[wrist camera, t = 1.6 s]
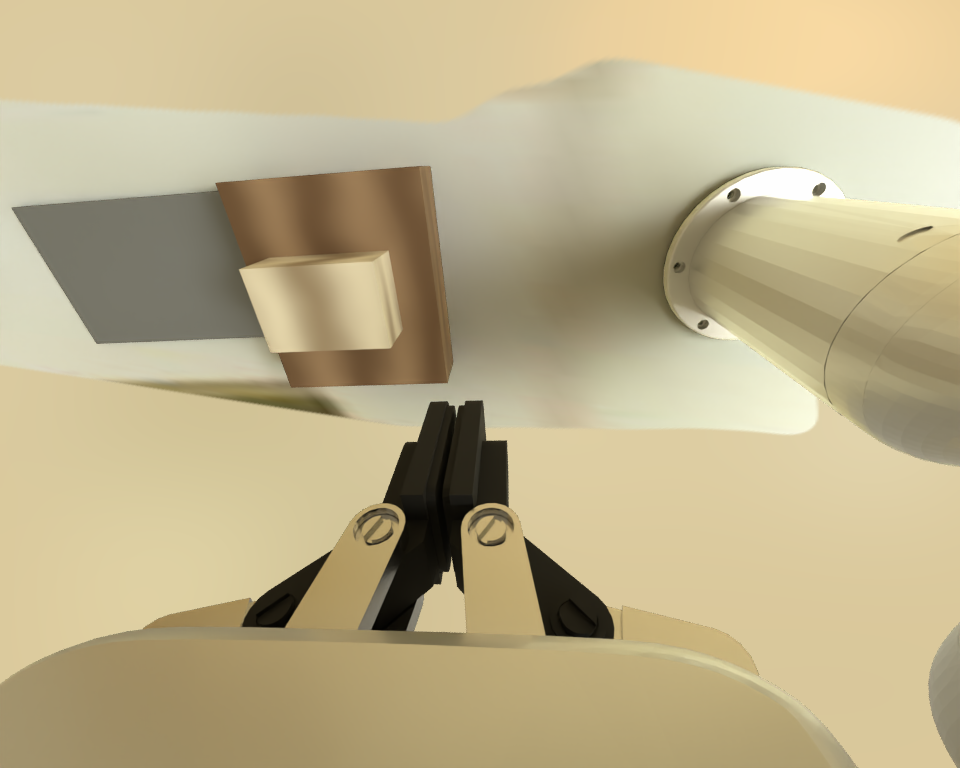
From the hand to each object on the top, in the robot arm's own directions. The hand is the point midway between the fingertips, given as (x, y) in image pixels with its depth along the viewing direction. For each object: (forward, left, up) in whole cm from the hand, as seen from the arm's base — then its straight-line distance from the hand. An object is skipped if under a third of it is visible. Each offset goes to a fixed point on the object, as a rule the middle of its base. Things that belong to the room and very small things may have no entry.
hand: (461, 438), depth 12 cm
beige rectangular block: (+11, 0, -18) cm, 21 cm away
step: (+11, 0, -22) cm, 24 cm away
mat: (+28, -1, -22) cm, 36 cm away
